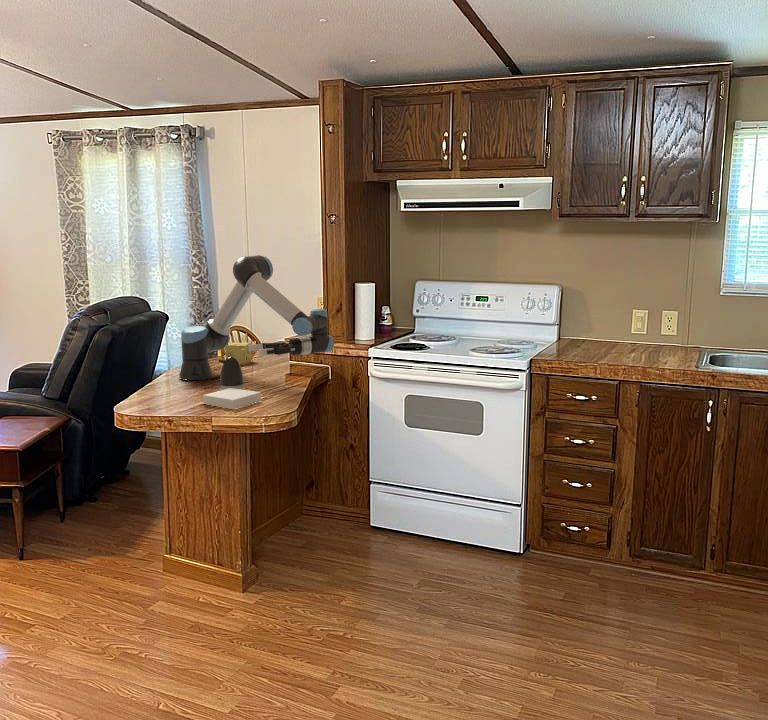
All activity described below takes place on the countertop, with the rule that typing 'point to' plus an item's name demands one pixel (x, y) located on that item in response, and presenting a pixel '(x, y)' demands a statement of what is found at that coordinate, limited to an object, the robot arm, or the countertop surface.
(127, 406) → the countertop surface
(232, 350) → the cheese
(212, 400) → the riser
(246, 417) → the countertop surface
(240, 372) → the dark brown rounded piece
